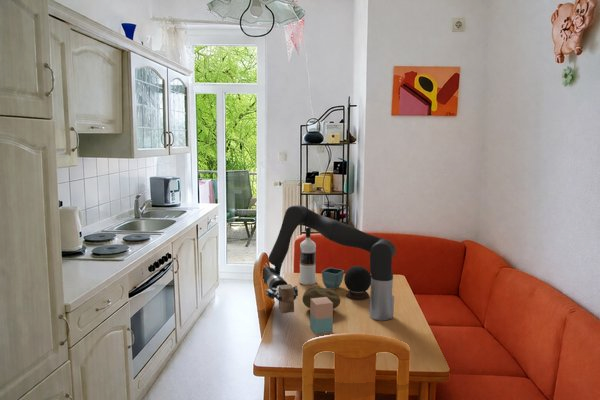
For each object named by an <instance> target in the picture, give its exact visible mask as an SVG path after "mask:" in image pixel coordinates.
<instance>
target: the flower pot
mask: <svg viewBox="0 0 600 400" xmlns="http://www.w3.org/2000/svg"><path fill="white" fill-rule="evenodd" d="M344 276H345V270H343V269H339V268H334V267H328V268H326V269H323V270H322V271H321V279H322V282H323V285H324V287H325V289H329V290H336V289H338V288H339V287H340V286H341V284H342V283H343V281H344Z"/></svg>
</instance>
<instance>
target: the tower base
mask: <svg viewBox="0 0 600 400" xmlns="http://www.w3.org/2000/svg"><path fill="white" fill-rule="evenodd" d="M309 315H310V316H309V327H310V329H311V330H312V332H314V334H315V335H318V334H327V333H333V325H334V324H333V323H334V321H333V318H325V319H315V318H314V317H313V316H312V314H311V313H310V312H309Z"/></svg>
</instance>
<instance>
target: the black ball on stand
mask: <svg viewBox="0 0 600 400" xmlns="http://www.w3.org/2000/svg"><path fill="white" fill-rule="evenodd" d="M343 282H344V285H345V287H346V288H347V289H348V291H347V292H346V293H345V298H347V299H349V300H352V301H353V300H354V301H365V299H366V300H368V299H369V298H370V294H369V293H368V292H367V291H368V290H370V288H371V272H370V270H368V269H367V268H365V267H364V266H361V265H354V266H351V267H349V268H348V269H347V270H346V272H344V275H343Z"/></svg>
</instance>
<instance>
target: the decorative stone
mask: <svg viewBox="0 0 600 400" xmlns="http://www.w3.org/2000/svg"><path fill="white" fill-rule="evenodd" d="M321 297H327V298H328V299H329V300H330V301H331V302H332V303H333V310H335V309H336V308H338V307H339V305H340V304H341V297H340V296H339V294H338V293H336V292H335V291H333V290H332V289H329V288H323V287H320V286H316V285H311V286H309V287H308V288H307V289H306V290H305V292H304V293H303V295H302V303H303V304H304V306H305V307H307V308H308V309H310V299H311V298H321Z"/></svg>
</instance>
